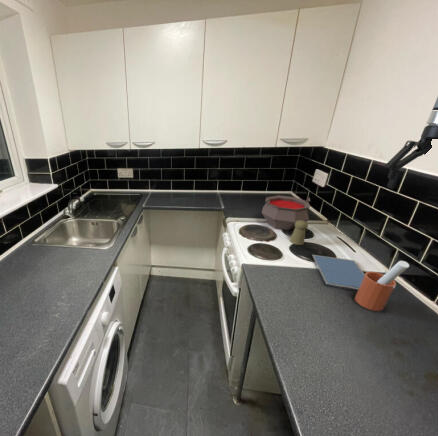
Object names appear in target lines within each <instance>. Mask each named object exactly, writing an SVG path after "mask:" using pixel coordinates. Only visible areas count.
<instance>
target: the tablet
mask: <svg viewBox="0 0 438 436" xmlns="http://www.w3.org/2000/svg"><path fill="white" fill-rule="evenodd" d="M311 258H312V260H313V262H314V264H315V266H316V268H317V271H318V273H319V275H320V277H321V279H322V281H323V283H324V285H325V286H326V287H333V288H337V289H338V288H339V289H343V290H344V289H345V290H349V291H355V292H357V291H358V289H359V286H360V284H361V282H362V279H363V277H364V275H365V272H364V271H363V270H362V269H361V267H360V266H359V265H358V263H357V262H356V261H355V260H354V259H346V258H339V257H332V256H325V255H318V254H311Z"/></svg>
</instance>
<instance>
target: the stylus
mask: <svg viewBox="0 0 438 436" xmlns="http://www.w3.org/2000/svg"><path fill="white" fill-rule="evenodd" d="M409 267H410V264H409V263H408V262H407V261H405V260H399V261H397V262H396V264H394V265H393V266H392V267H391V268H390V269H389V270H388V271H387V272H386V273H385V274H384V275H383V276H382V277H381V278H380V279H379V280H378V281H377V283H380V284H383V285H388V284H389V283H390V282H392V281H393V280H394V281H395V279H396V278H398V277H399V276H400V275H401V274H402V273H404V272H405V271H406V270H408V268H409Z"/></svg>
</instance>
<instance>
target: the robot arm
mask: <svg viewBox="0 0 438 436" xmlns="http://www.w3.org/2000/svg"><path fill="white" fill-rule="evenodd" d="M433 110H438V96H437V98H436V99H435V102H434V105H433V106H432V109H431V111H430V114H429V117H428V119H427V120H426V125H425V126H424V128H423V130H422V133H421V135H420V139H419V140H418V141H415V140H407V141H406V142H405V143H404V145H403V147H402V148H401V149H400V150H399V151H398V152H397V153H396V154H395V155H394V156H393V157H392V158H391V159H389V161H388V162H387V163H385V164H384V168H387V169H389V172H388V175H387V179H389V180H388V183H387V185H386V187H387V188H388V189H391V190H394V189H395V187H396V184H397V181H398V179H399V178H400V174H401V173H402V170H401V169H402V168H404V167H405V166H407V165H408V164H409V163H411V162H413V161H414V160H416V159H418V158H419V157H421V156H423V154H424V156H426V155H425V154H426V153H427V152H428V151H429V150H430V149H431V148H432V145H431V141H432V139H438V111H433ZM416 147H417V148H416ZM414 148H416V149H414ZM413 149H414V150H413ZM412 150H413V151H412ZM409 152H410V153H409Z"/></svg>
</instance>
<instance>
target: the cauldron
mask: <svg viewBox="0 0 438 436" xmlns="http://www.w3.org/2000/svg"><path fill="white" fill-rule="evenodd" d="M310 202H311V198H310V197H307V198H306V200H305V199H302V198H299V197H296V196H289V195H288V196H287V195H279V194H277V195H271V196H266V198H265V204H264V205H263V207H262V210H261V214H262V216H263V217H264V219H265V222H266V223H267V224H268V226H271V227H273V228H274V229H278V230H281V231H282V230H283V231H292V230H294V229H295V222H296V221H298V220H302V221H305V222H308V221H309V220H310V217H309V213H308V209H310V207H311V206H310Z"/></svg>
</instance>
